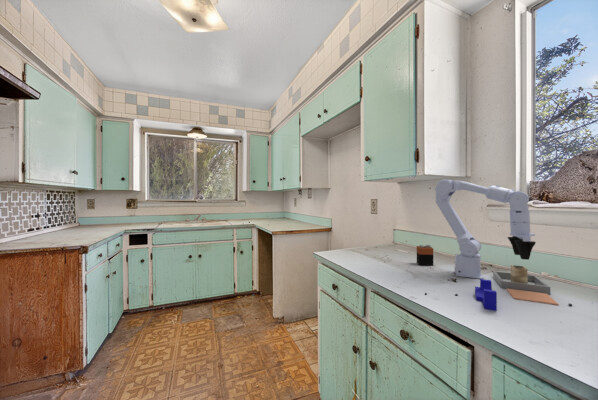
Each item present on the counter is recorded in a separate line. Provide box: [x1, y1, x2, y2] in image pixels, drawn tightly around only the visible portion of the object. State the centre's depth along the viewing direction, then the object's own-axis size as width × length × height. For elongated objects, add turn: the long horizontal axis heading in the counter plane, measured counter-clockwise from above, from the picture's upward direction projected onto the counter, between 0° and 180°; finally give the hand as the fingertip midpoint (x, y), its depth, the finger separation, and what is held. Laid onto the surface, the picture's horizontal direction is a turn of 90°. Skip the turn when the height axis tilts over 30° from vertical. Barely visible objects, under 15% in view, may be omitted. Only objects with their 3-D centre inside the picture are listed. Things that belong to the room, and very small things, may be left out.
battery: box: [416, 244, 434, 267], centre depth 123 cm, size 4×7×10 cm, turn 83°
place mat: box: [505, 288, 560, 306], centre depth 83 cm, size 11×9×1 cm
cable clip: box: [474, 278, 498, 312], centre depth 80 cm, size 12×4×6 cm, turn 148°
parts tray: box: [492, 270, 551, 295], centre depth 94 cm, size 14×14×2 cm
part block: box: [510, 264, 529, 284], centre depth 94 cm, size 4×4×7 cm
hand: (521, 257), depth 93 cm, fingers open, 7 cm apart
